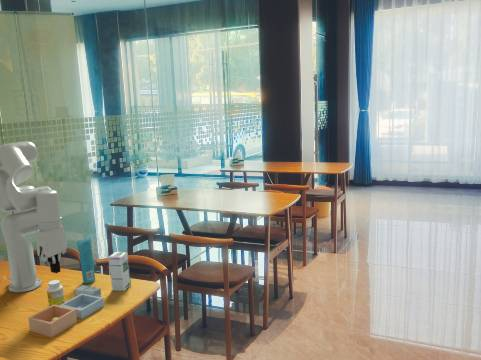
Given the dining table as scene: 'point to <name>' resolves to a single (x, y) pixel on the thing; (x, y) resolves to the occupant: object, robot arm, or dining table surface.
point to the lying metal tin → (88, 291)
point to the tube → (86, 259)
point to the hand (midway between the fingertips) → (55, 271)
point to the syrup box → (119, 271)
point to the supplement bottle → (55, 293)
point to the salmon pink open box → (46, 327)
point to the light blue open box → (84, 305)
